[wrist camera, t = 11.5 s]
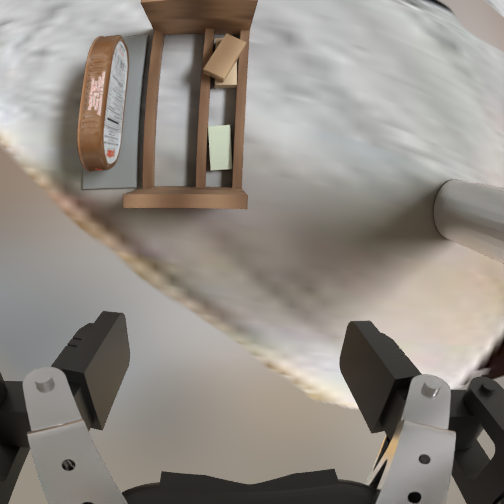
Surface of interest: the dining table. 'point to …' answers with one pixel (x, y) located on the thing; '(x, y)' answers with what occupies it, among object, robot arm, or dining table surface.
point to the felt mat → (126, 125)
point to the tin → (103, 103)
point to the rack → (209, 23)
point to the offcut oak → (224, 57)
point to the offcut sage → (220, 147)
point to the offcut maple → (232, 76)
